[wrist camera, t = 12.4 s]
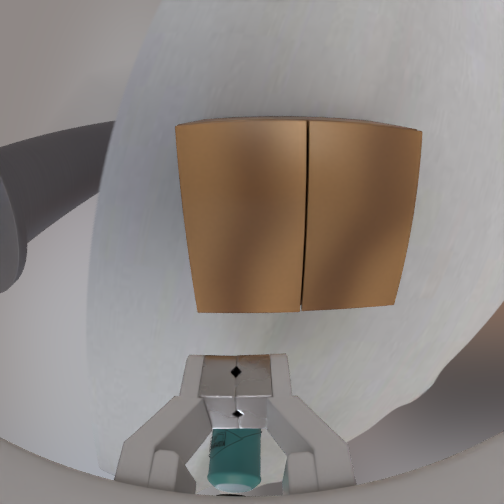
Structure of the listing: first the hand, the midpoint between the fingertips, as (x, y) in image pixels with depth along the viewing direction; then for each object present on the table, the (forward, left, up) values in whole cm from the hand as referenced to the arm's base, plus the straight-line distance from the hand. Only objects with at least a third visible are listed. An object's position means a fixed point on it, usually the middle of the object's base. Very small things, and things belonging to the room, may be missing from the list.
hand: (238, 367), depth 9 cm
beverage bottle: (+21, -19, -21) cm, 35 cm away
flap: (0, 0, -11) cm, 11 cm away
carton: (+2, +3, -21) cm, 21 cm away
